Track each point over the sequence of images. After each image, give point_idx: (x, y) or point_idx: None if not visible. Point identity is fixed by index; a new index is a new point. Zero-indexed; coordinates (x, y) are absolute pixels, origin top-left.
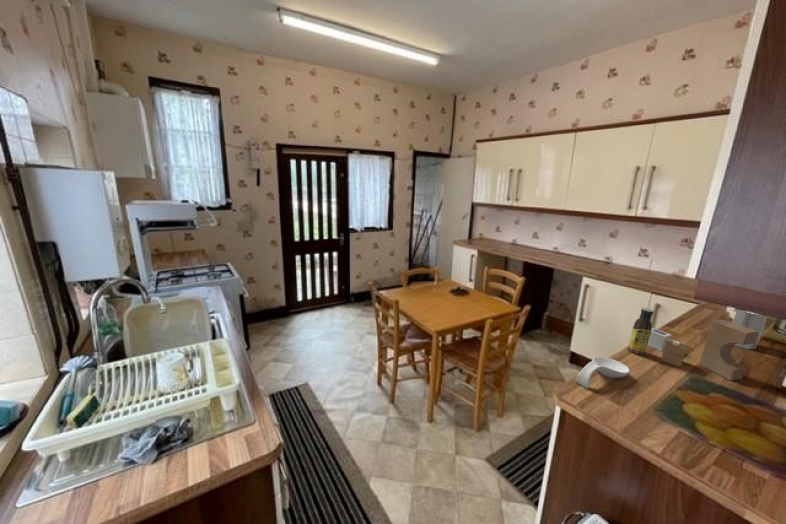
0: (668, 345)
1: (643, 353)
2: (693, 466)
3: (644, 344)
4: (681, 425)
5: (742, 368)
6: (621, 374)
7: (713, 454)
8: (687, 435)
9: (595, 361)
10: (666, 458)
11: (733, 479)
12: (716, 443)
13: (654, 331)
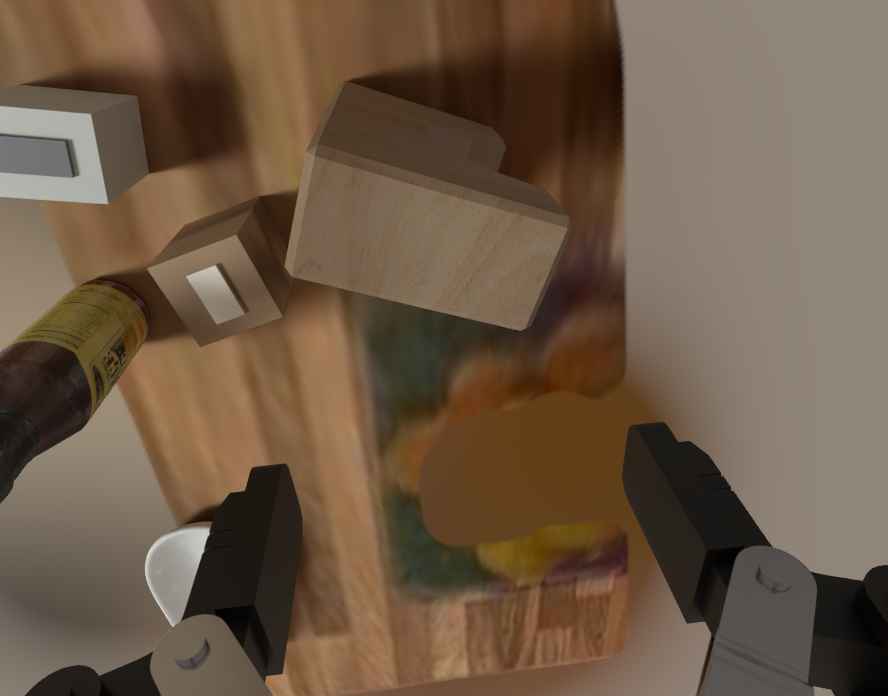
0: (212, 340)
1: (148, 313)
2: (517, 657)
3: (129, 359)
4: (461, 585)
5: (497, 162)
6: None
7: (532, 609)
8: (482, 602)
9: (171, 595)
10: (481, 674)
11: (570, 633)
12: (528, 578)
13: (14, 176)
